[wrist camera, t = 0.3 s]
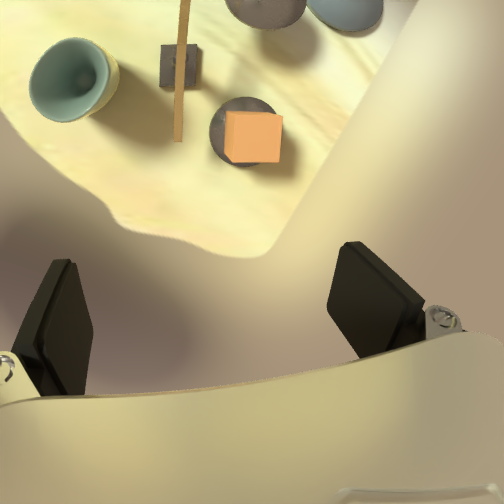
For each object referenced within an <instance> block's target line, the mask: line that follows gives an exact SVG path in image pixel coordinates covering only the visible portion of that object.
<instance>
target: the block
mask: <svg viewBox="0 0 504 504" xmlns="http://www.w3.org/2000/svg"><path fill="white" fill-rule="evenodd" d="M282 121H283V116H279V115H276V114H272V113H269V112H248V111H226V116H225V141H224V153H225V154H226V156H227V157H228V158H229V159H230V160H231V161H232V162H233V163H234V162H279V158H280V146H281V133H282Z"/></svg>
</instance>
